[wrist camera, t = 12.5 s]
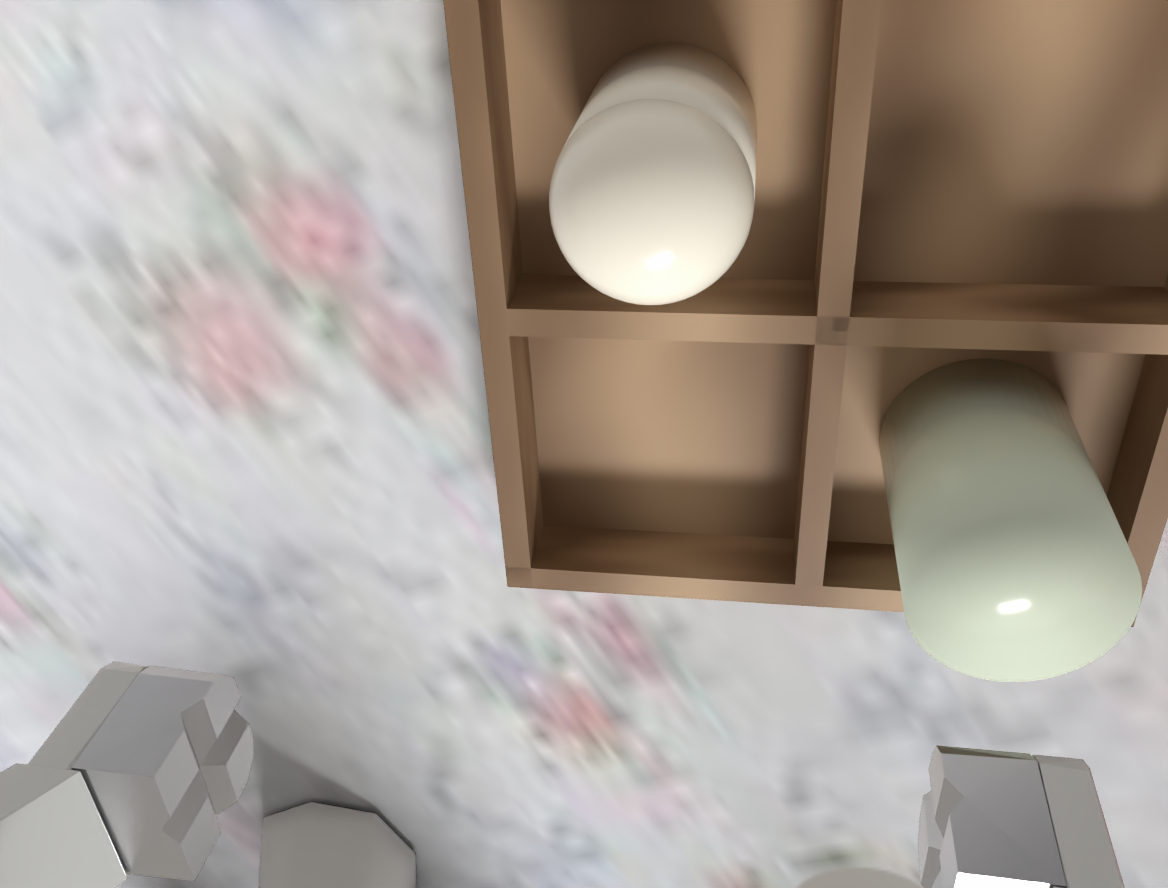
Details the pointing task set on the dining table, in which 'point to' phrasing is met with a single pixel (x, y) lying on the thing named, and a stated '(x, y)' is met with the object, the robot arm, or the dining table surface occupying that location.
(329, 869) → the flask
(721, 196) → the ceramic shaker
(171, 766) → the robot arm
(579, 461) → the caddy
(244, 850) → the dining table surface
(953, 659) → the sage jar
